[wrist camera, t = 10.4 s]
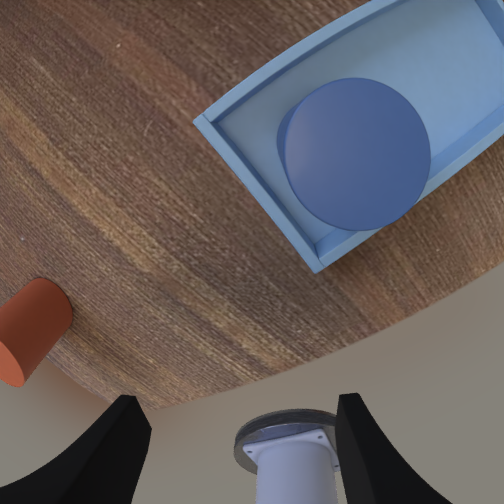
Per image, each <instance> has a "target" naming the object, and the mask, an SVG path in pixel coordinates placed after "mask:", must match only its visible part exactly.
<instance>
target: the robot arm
mask: <svg viewBox="0 0 504 504" xmlns="http://www.w3.org/2000/svg"><path fill="white" fill-rule="evenodd" d="M334 429H335V440H336V449H337V454H336V452H335V451H334V449H333V447H332V445H331V443H330V441H329V439H328V437H327V435H326V433H325V431H324V430H323V429H316V430H312V431H308V432H304V433H300V434H296V435H291V436H287V437H282V438H278V439H273V440H268V441H262V442H257V443H251V444H246V445H244V446H243V451H244V452H245V453H246V454H247V455H248V456H249V457H250V458H251V459H252V460H253V461H254V462H255V463H256V464H257V465H258V470H257V489H256V504H338V499H337V491H336V482H335V475H334V472H337V471H341V475H342V479H343V484H344V488H345V494H346V498H347V503H348V504H452V503H451V502H450V501H448V500H447V499H446V498H445V497H443V496H442V495H440V494H439V493H438V492H437V491H436V490H434V489H433V488H432V487H431V486H430V485H429V484H427V482H426V481H424V480H423V479H422V478H421V477H420V476H419V475H418V474H417V473H416V472H415V471H414V470H413V469H412V467H411V466H410V465H409V464H408V463H407V462H406V461H405V460H404V458H403V457H402V456H401V455H400V454H399V453H398V451H397V450H396V449H395V448H394V447H393V445H392V444H391V442H390V441H389V440H388V439H387V437H386V436H385V435H384V433H383V431H382V430H381V429H380V427H379V426H378V424H377V423H376V421H375V420H374V418H373V417H372V415H371V414H370V412H369V410H368V409H367V407H366V405H365V404H364V402H363V400H362V398H361V396H360V395H359V394H358V393H350V394H342V395H339V402H338V409H337V415H336V422H335V428H334ZM151 430H152V428H151V426H150V424H149V422H148V420H147V418H146V417H145V414H144V412H143V411H142V409H141V407H140V405H139V402H138V400H137V398H136V396H130V395H120V396H119V397H118V398H117V399H116V400H115V401H114V402H113V404H112V405H111V406H110V407H109V408H108V409H107V410H106V411H105V412H104V413H103V414H102V415H101V416H100V417H99V418H98V419H97V420H96V421H95V422H94V423H93V424H92V425H91V426H90V427H89V428H88V429H87V430H86V431H85V432H84V433H83V434H82V435H81V436H80V437H79V438H78V439H77V440H76V441H75V442H74V443H72V444H71V445H70V446H69V447H68V448H67V449H66V450H64V451H63V452H62V453H61V454H59V455H58V456H57V457H55V458H54V459H53V460H51V461H50V462H49V463H47V464H46V465H44V466H43V467H41V468H39V469H38V470H36V471H34V472H33V473H31V474H30V475H27V476H26V477H24V478H22V479H20V480H17V481H15V482H13V483H11V484H8V485H6V486H3V487H0V504H131V502H132V498H133V494H134V492H135V489H136V486H137V482H138V479H139V476H140V473H141V470H142V467H143V464H144V461H145V458H146V455H147V452H148V447H149V442H150V436H151Z"/></svg>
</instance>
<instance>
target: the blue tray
mask: <svg viewBox="0 0 504 504" xmlns="http://www.w3.org/2000/svg"><path fill="white" fill-rule="evenodd" d="M343 78H365V79H371V80H375V81H378V82H380V83H383V84H385V85H387V86H389V87H391V88H393V89H394V90H396V91H397V92H399V93H400V94H401V95H402V96H403V97H405V98H406V99H407V100H408V101H409V102H410V104H411V105H412V106H413V107H414V108H415V110H416V111H417V113H418V114H419V116H420V117H421V119H422V121H423V123H424V125H425V128H426V131H427V134H428V138H429V142H430V150H431V164H430V172H429V176H428V179H427V182H426V185H425V188H424V190H423V192H422V194H421V195H420V197H419V199H418V200H417V202H419V201H420V200H421V199H423V198H424V197H425V196H427V195H428V194H429V193H431V192H432V191H433V190H434V189H436V188H437V187H438V186H440V185H441V184H442V183H444V182H445V181H446V180H447V179H449V178H450V177H451V176H453V175H454V174H455V173H456V172H458V171H459V170H460V169H462V168H463V167H464V166H465V165H467V164H468V163H469V162H470V161H472V160H473V159H474V158H475V157H477V156H478V155H479V154H480V153H482V152H483V151H484V150H485V149H486V148H488V147H489V146H490V145H491V144H493V143H494V142H495V141H496V140H497V139H499V138H500V137H501V136H502V135H503V134H504V3H503V1H502V0H372V1H370V2H368V3H366V4H364V5H362V6H360V7H358V8H356V9H355V10H353V11H351V12H349V13H347V14H345V15H343V16H342V17H340V18H338V19H336V20H335V21H333V22H331V23H329V24H328V25H326V26H324V27H323V28H321V29H319V30H317V31H316V32H314V33H313V34H311V35H309V36H308V37H306V38H304V39H303V40H301V41H300V42H298V43H297V44H295V45H294V46H292V47H290V48H289V49H287V50H286V51H284V52H283V53H281V54H280V55H278V56H277V57H275V58H274V59H273V60H271V61H270V62H268V63H267V64H265V65H264V66H263V67H261V68H260V69H258V70H257V71H256V72H254V73H253V74H251V75H250V76H249V77H247V78H246V79H245V80H243V81H242V82H241V83H239V84H238V85H237V86H235V87H234V88H233V89H231V90H230V91H229V92H228V93H226V94H225V95H224V96H222V97H221V98H220V99H219V100H217V101H216V102H215V103H214V104H212V105H211V106H210V107H209V108H208V109H206V110H205V111H204V112H203V114H200V115H199V116H198V117H197V118H196V119H194V120H193V124H194V125H195V126H196V127H197V128H198V130H199V131H200V132H201V133H202V134H203V136H204V137H205V138H206V139H207V140H208V142H209V143H210V144H211V145H212V146H213V147H214V149H215V150H216V151H217V152H218V153H219V155H220V156H221V157H222V158H223V159H224V161H225V162H226V163H227V164H228V165H229V167H230V168H231V169H232V170H233V172H234V173H235V174H236V175H237V176H238V178H239V179H240V180H241V181H242V183H243V184H244V185H245V186H246V187H247V189H248V190H249V191H250V192H251V194H252V195H253V196H254V197H255V199H256V200H257V201H258V202H259V204H260V205H261V206H262V207H263V209H264V210H265V211H266V212H267V214H268V215H269V216H270V217H271V219H272V220H273V221H274V222H275V224H276V225H277V226H278V227H279V229H280V230H281V231H282V232H283V234H284V235H285V236H286V237H287V239H288V240H289V241H290V243H291V244H292V245H293V246H294V248H295V249H296V250H297V252H298V253H299V254H300V255H301V257H302V258H303V259H304V261H305V262H306V263H307V264H308V266H309V267H310V268H311V270H312V271H313V272H314V273H315V274H316V273H318V272H319V271H321V270H322V269H324V267H327V266H328V265H330V264H331V263H333V262H334V261H336V260H337V259H339V258H340V257H342V256H343V255H345V254H346V253H347V252H349V251H350V250H352V249H353V248H355V247H356V246H358V245H359V244H360V243H362V242H363V241H365V240H366V239H368V238H369V237H370V236H372V235H373V234H375V233H376V232H377V231H379V230H380V229H382V228H383V227H381V228H378V229H374V230H369V231H347V230H343V229H338V228H336V227H333V226H330V225H328V224H326V223H324V222H322V221H320V220H319V219H317V218H316V217H315V216H313V215H312V214H311V213H310V212H309V211H308V210H306V209H305V208H304V206H303V205H302V204H301V203H300V202H299V200H298V199H297V197H296V196H295V194H294V193H293V191H292V189H291V187H290V185H289V183H288V180H287V177H286V174H285V171H284V169H283V166H282V163H281V160H280V157H279V155H278V150H277V142H276V141H277V132H278V128H279V125H280V123H281V121H282V119H283V117H284V116H285V115H286V113H287V112H288V111H289V110H290V109H291V108H292V107H294V106H295V105H296V104H297V103H299V102H300V101H301V100H302V99H304V98H305V97H306V96H307V95H309V94H310V93H311V92H312V91H314V90H315V89H317V88H318V87H320V86H322V85H324V84H326V83H329V82H331V81H334V80H338V79H343ZM417 202H416V203H417ZM416 203H415V204H416ZM415 204H414V205H415Z"/></svg>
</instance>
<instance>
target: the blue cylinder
mask: <svg viewBox="0 0 504 504" xmlns="http://www.w3.org/2000/svg"><path fill="white" fill-rule="evenodd" d="M276 142H277V150H278V155H279V157H280V160H281V163H282V166H283V169H284V171H285V174H286V177H287V180H288V183H289V185H290V187H291V189H292V191H293V193H294V194H295V196H296V197H297V199H298V200H299V202H300V203H301V204H302V205H303V206H304V208H305V209H306V210H308V211H309V212H310V213H311V214H312V215H313V216H315V217H316V218H317V219H319V220H320V221H322V222H324V223H326V224H328V225H330V226H333V227H336V228H338V229H343V230H347V231H369V230H374V229H378V228H381V227H384V226H387V225H389V224H391V223H393V222H395V221H396V220H398V219H399V218H401V217H402V216H403V215H404V214H406V213H407V212H408V211H409V210H410V209H411V208H412V207H413V206H414V204H415V203H416V202H417V200H418V199H419V197H420V195H421V194H422V192H423V190H424V188H425V185H426V182H427V179H428V176H429V172H430V164H431V150H430V142H429V138H428V134H427V131H426V128H425V125H424V123H423V121H422V119H421V117H420V116H419V114H418V113H417V111H416V110H415V108H414V107H413V106H412V105H411V104H410V102H409V101H408V100H407V99H406V98H405V97H403V96H402V95H401V94H400V93H399V92H397V91H396V90H394V89H393V88H391V87H389V86H387V85H385V84H383V83H380V82H378V81H375V80H371V79H365V78H343V79H338V80H334V81H331V82H329V83H326V84H324V85H322V86H320V87H318V88H317V89H315V90H314V91H312V92H311V93H310V94H309V95H307V96H306V97H305V98H304V99H302V100H301V101H300V102H299V103H297V104H296V105H295V106H294V107H292V108H291V109H290V110H289V111H288V112H287V113H286V115H285V116H284V117H283V119H282V121H281V123H280V125H279V128H278V132H277V141H276Z"/></svg>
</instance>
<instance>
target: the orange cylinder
mask: <svg viewBox="0 0 504 504" xmlns="http://www.w3.org/2000/svg"><path fill="white" fill-rule="evenodd" d="M72 320H73V312H72V308H71V305H70V303H69V300H68V299H67V297H66V295H65V294H64V293H63V291H62V290H61V289H60V288H59V287H58V286H57V285H56V284H54V283H53V282H51V281H49V280H47V279H44V278H36V279H34V280H32V281H31V282H30V283H29V284H27V285H26V286H25V287H24V288H23V289H21V290H20V291H19V292H18V293H17V294H16V295H14V296H13V297H12V298H11V299H10V300H9V301H7V302H6V303H5V304H4V305H3V306H2V307H1V308H0V379H1V380H3V381H4V382H6V383H7V384H9V385H11V386H14V387H21V386H23V385H24V383H25V382H26V381H27V379H28V378H29V377H30V375H31V374H32V373H33V371H34V370H35V369H36V367H37V366H38V365H39V364H40V362H41V361H42V360H43V358H44V357H45V356H46V355H47V353H48V352H49V351H50V350H51V348H52V347H53V346H54V345H55V343H56V342H57V341H58V340H59V338H60V337H61V336H62V335H63V334H64V332H65V331H66V330H67V329H68V327H69V326H70V325H71V323H72Z"/></svg>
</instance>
